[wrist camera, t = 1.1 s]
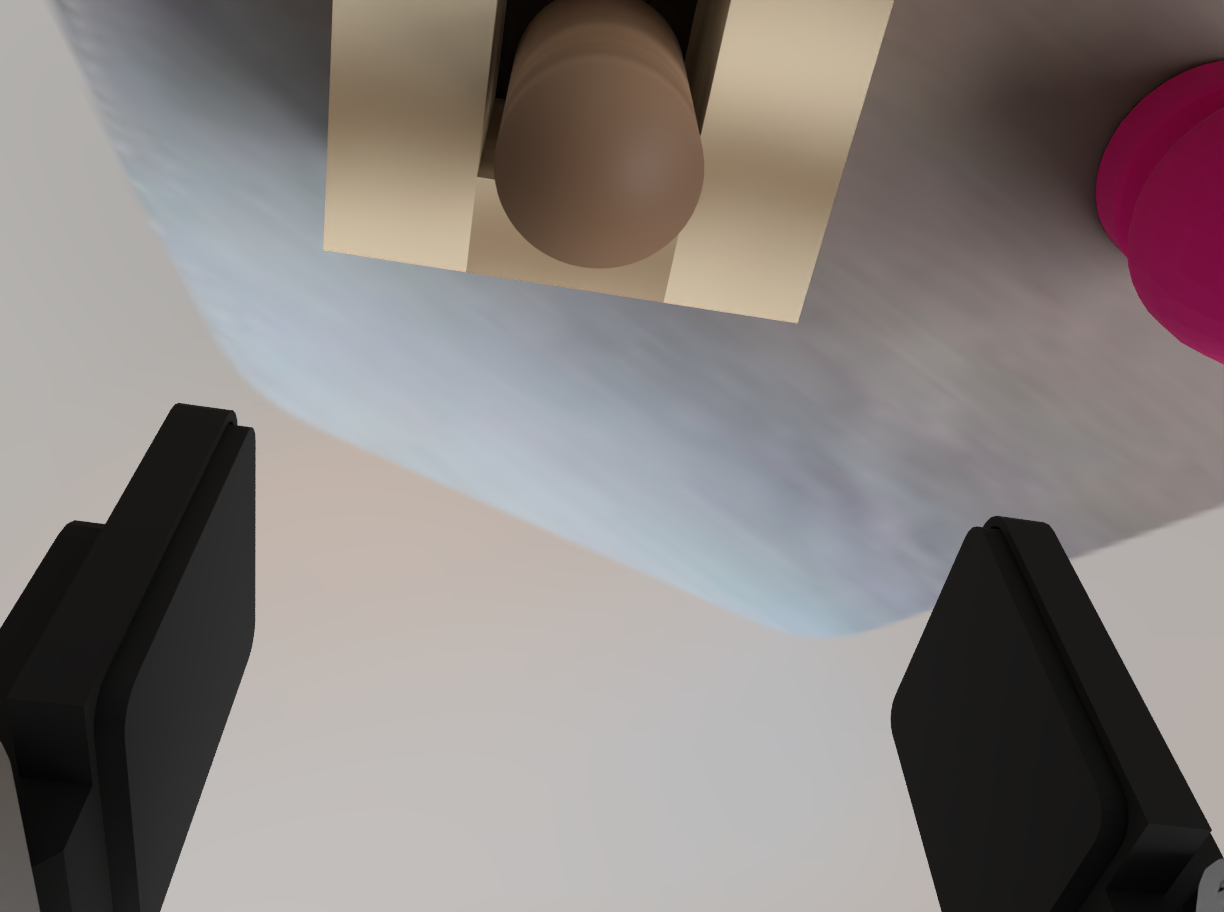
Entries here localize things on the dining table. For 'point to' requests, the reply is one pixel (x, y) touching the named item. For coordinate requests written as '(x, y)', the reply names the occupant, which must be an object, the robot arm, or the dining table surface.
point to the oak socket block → (727, 121)
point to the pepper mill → (1172, 204)
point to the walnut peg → (599, 134)
